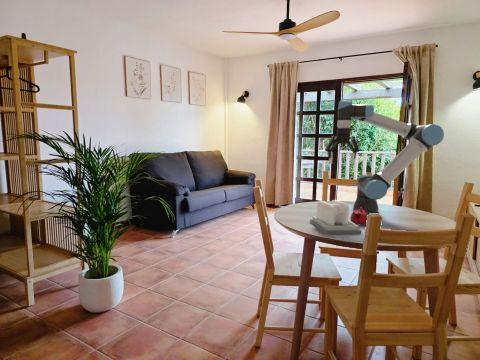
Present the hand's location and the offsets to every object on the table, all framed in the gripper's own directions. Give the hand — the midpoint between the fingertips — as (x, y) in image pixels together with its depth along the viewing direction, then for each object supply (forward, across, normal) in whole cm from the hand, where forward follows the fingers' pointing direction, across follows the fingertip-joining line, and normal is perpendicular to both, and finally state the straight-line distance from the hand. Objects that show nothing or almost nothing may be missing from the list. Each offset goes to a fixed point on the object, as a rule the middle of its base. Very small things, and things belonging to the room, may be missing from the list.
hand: (341, 163), depth 184 cm
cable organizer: (+29, +16, +28) cm, 44 cm away
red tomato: (+31, -2, +22) cm, 38 cm away
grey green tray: (+31, +15, +28) cm, 44 cm away
